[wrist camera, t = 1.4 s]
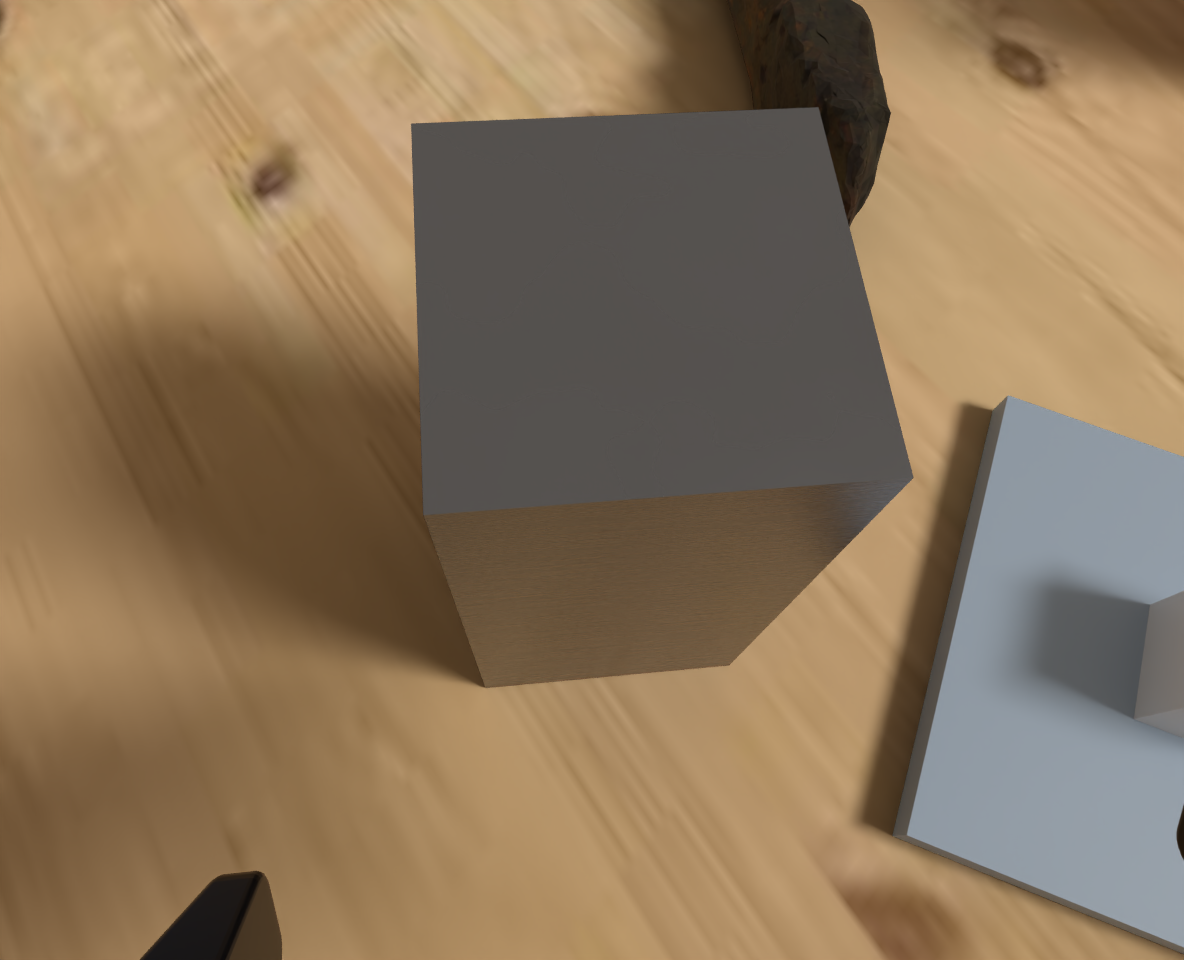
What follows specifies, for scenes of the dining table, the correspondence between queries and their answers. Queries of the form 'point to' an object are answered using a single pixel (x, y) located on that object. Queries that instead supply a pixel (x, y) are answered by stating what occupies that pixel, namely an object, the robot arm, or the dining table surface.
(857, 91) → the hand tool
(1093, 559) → the base block
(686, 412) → the grey block
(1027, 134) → the dining table surface
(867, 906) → the dining table surface
